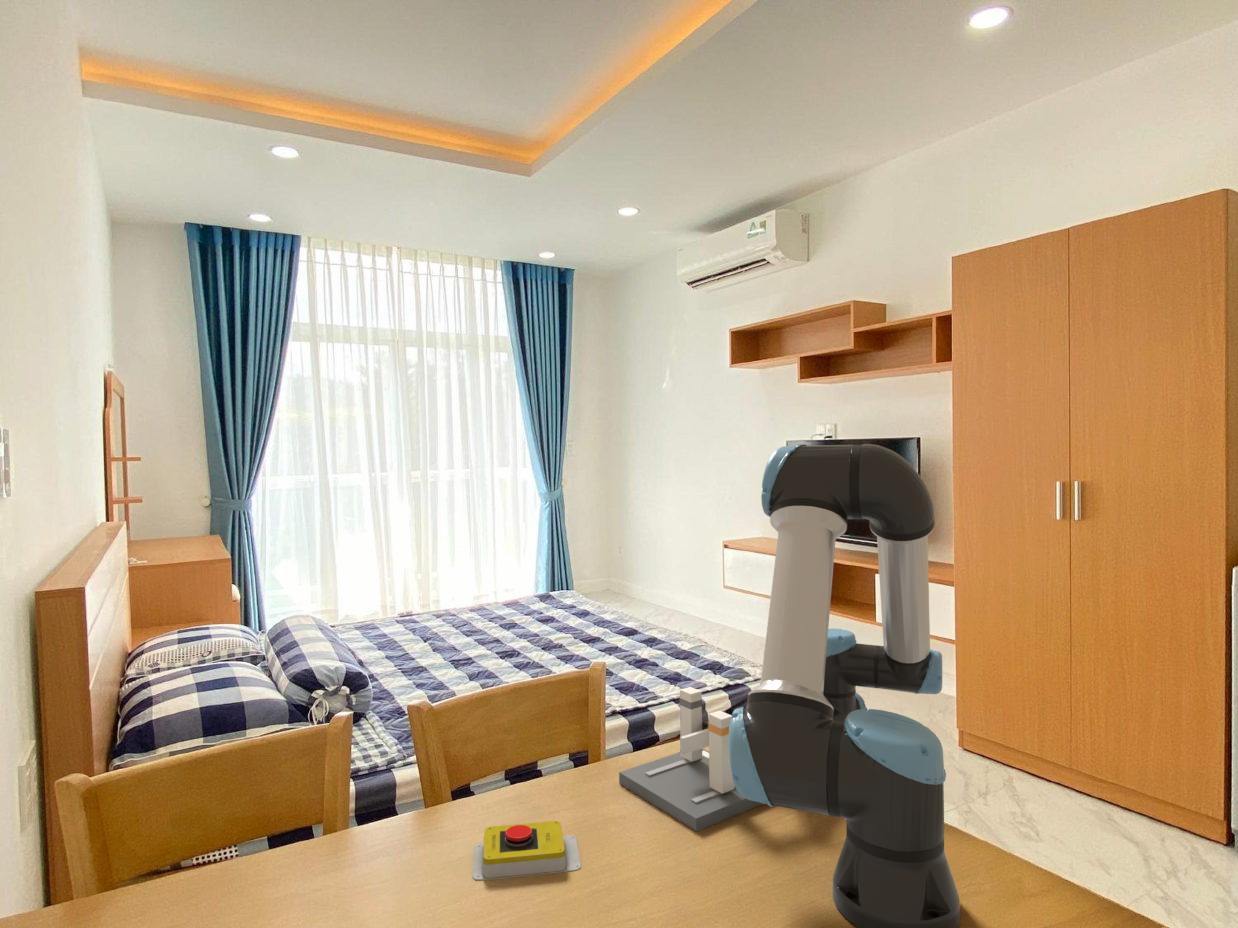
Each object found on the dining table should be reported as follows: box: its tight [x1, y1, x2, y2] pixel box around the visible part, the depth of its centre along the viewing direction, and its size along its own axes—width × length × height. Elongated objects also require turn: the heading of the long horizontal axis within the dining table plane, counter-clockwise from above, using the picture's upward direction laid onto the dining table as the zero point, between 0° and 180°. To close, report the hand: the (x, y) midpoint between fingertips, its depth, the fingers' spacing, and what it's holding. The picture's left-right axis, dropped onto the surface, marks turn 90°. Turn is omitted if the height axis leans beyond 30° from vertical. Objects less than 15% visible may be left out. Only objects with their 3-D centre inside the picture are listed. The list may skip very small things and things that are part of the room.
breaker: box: [679, 686, 703, 762], centre depth 134 cm, size 3×3×12 cm
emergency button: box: [471, 820, 582, 881], centre depth 108 cm, size 9×4×15 cm
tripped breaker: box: [708, 710, 734, 794], centre depth 122 cm, size 3×3×12 cm
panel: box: [618, 748, 764, 832], centre depth 127 cm, size 18×20×2 cm
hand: (708, 759), depth 121 cm, fingers open, 13 cm apart
